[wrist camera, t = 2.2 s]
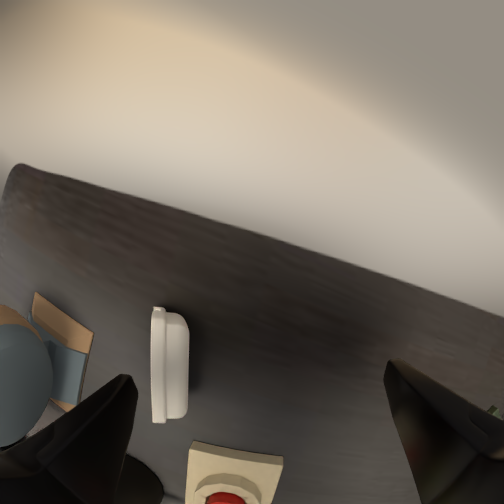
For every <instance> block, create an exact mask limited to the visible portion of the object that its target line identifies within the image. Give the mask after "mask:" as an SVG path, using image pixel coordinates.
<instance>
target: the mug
mask: <svg viewBox="0 0 504 504" xmlns="http://www.w3.org/2000/svg"><path fill="white" fill-rule="evenodd" d="M162 498H163V489H162V486H161V484H160V482H159V480H158V479H157V477H156V476H155V475H154V474H153V473H152V472H151V471H150V470H149V469H148V468H147V467H146V466H144V465H143V464H142V463H140V462H139V461H137V460H135V459H133V458H132V457H129V456H127V455H125V458H124V462H123V466H122V470H121V474H120V477H119V481H118V485H117V490H116V494H115V498H114V502H113V504H160V502H161V501H162Z"/></svg>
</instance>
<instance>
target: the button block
mask: <svg viewBox="0 0 504 504" xmlns="http://www.w3.org/2000/svg"><path fill="white" fill-rule="evenodd" d="M282 468H283V456H274V455H266V454H259V453H252V452H246V451H240V450H235V449H229V448H224V447H219V446H215V445H210V444H206V443H202V442H197V441H193V443H192V445H191V447H190V448H189V458H188V470H187V482H186V496H185V504H207V503H208V500H209V497H210V496H211V495H212V494H214V493H216V492H228V493H233V494H236V495H238V496H240V497H241V498H242V499H243V500H244V502H245V504H271V503H272V500H273V497H274V494H275V491H276V488H277V484H278V481H279V478H280V475H281V472H282Z"/></svg>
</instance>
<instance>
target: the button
mask: <svg viewBox="0 0 504 504" xmlns="http://www.w3.org/2000/svg"><path fill="white" fill-rule="evenodd" d="M207 504H245V502H244V500H243V499H242V498H241V497H240V496H238V495H236V494H233V493H228V492H216V493H214V494H212V495H211V496H210V497H209V500H208V503H207Z"/></svg>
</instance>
